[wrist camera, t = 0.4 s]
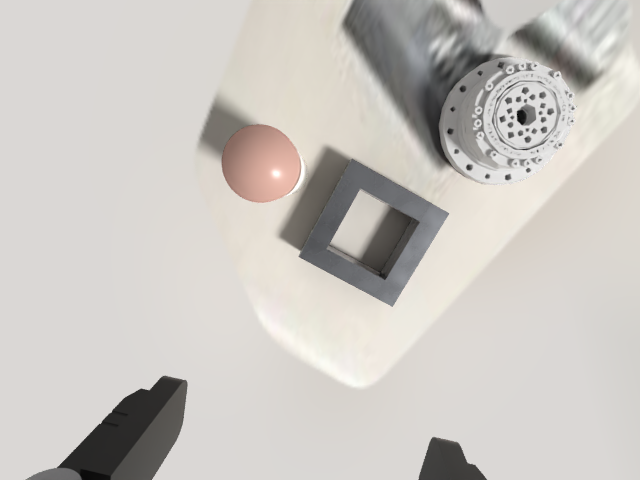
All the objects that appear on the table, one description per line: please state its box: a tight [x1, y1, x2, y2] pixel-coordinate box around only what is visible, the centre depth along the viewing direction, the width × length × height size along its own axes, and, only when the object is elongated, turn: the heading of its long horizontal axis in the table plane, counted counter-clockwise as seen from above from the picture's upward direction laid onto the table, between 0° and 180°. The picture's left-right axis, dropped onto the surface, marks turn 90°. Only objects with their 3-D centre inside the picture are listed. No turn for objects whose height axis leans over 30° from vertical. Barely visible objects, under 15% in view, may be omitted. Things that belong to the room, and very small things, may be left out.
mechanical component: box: [439, 57, 577, 185], centre depth 27 cm, size 10×4×10 cm
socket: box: [299, 159, 449, 307], centre depth 29 cm, size 9×9×2 cm
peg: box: [222, 124, 308, 203], centre depth 24 cm, size 4×4×12 cm
